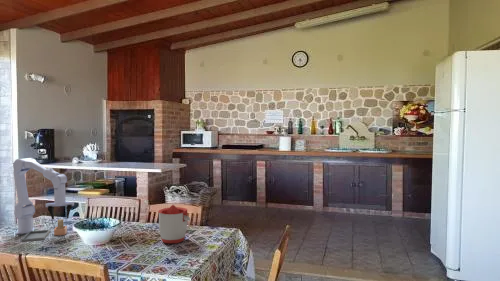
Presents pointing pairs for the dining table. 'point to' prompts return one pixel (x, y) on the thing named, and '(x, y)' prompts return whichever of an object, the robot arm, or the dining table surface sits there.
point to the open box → (60, 231)
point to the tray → (35, 235)
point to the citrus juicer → (173, 224)
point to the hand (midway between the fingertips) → (60, 218)
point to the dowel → (60, 224)
